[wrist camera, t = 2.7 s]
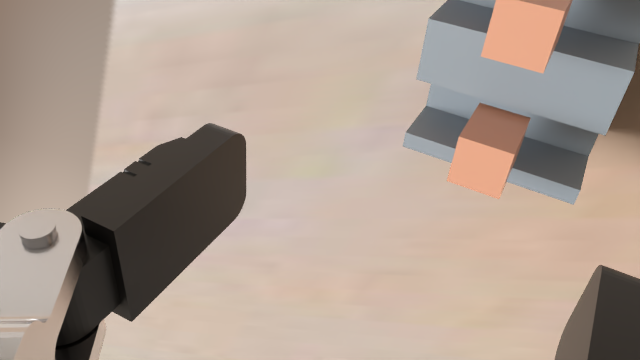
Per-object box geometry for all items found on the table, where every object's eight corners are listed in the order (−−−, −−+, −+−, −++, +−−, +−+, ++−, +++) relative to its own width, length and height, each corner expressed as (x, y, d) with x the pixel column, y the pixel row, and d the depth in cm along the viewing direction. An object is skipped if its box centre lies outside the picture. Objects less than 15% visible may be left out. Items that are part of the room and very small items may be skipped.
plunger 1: (578, -16, 20) (565, 11, 18) (557, 42, 22) (543, 73, 20) (517, -29, 21) (496, -5, 19) (501, 27, 23) (480, 56, 20)
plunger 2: (530, 117, 24) (514, 154, 22) (515, 160, 25) (499, 199, 23) (479, 102, 25) (458, 136, 22) (467, 144, 26) (446, 180, 24)
